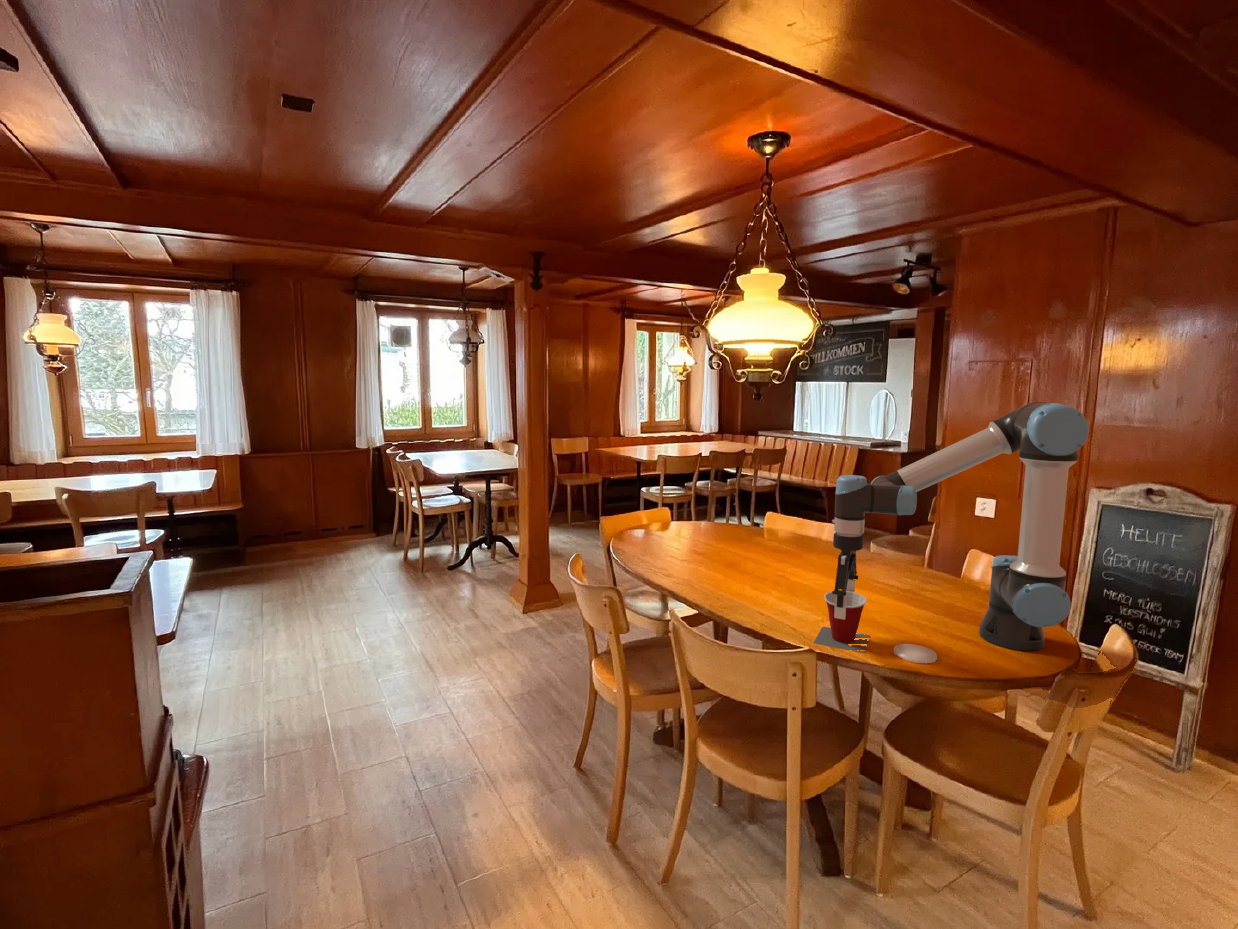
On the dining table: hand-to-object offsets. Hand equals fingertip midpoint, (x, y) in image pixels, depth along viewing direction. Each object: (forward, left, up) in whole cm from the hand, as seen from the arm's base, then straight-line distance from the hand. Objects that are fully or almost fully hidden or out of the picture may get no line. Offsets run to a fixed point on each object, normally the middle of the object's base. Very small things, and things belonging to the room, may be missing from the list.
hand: (844, 610), depth 167 cm
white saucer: (-18, +1, -9) cm, 20 cm away
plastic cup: (0, 0, -8) cm, 9 cm away
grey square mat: (0, 0, -9) cm, 9 cm away
